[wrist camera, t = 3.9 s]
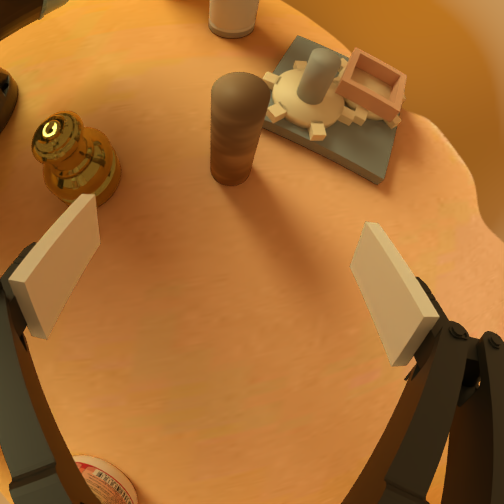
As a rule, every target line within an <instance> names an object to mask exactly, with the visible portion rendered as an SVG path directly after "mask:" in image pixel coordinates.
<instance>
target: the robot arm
mask: <svg viewBox="0 0 504 504" xmlns="http://www.w3.org/2000/svg"><path fill="white" fill-rule="evenodd" d="M67 2H68V0H0V41H1V40H3V39H5V38H6V37H8V36H9V35H11V34H13V33H14V32H16V31H18V30H19V29H21V28H23V27H25V26H26V25H28V24H30V23H32V22H34V21H36V20H37V19H38V20H40V19H41V18H43V17H44V15H46V14H48V13H50V12H51V11H53V10H55V9H57V8H59V7H61V6H63V5H64V4H66V3H67ZM17 95H18V88H17V84H16V82H15V81H14V79H13V78H12V76H11V75H10V74H9V73H8V72H7V71H6V70H4V69H2V68H0V132H1V131H2V129H3V128H4V126H5V125H6V123H7V121H8V120H9V118H10V116H11V114H12V112H13V109H14V107H15V104H16V100H17ZM100 244H101V241H100V234H99V226H98V217H97V208H96V197H95V194H81V195H80V196H79V197H78V198H77V199H76V200H75V201H74V202H73V203H72V204H71V205H70V206H69V208H68V209H67V210H66V211H65V212H64V213H63V214H62V215H61V216H60V217H59V218H58V219H57V221H56V222H55V223H54V224H53V225H52V226H51V227H50V228H49V230H48V231H47V232H46V233H45V234H44V235H43V236H42V238H41V239H40V240H39V241H38V242H37V243H35V242H33V243H32V244H30V245H29V246H27V247H26V248H24V250H23V251H22V252H21V253H20V254H19V256H18V258H16V259H15V261H14V262H13V264H11V266H10V267H9V268H8V269H7V271H6V272H5V273H4V274H3V276H2V277H1V278H0V445H1V448H2V451H3V454H4V457H5V460H6V463H7V465H8V468H9V470H10V473H11V476H12V482H11V483H10V484H9V491H10V494H11V497H12V499H13V502H14V504H102V503H101V501H100V500H99V499H98V498H97V497H96V495H95V494H94V493H93V492H92V490H91V489H90V487H89V486H88V484H87V483H86V481H85V479H84V477H83V476H82V474H81V472H80V470H79V468H78V467H77V465H76V463H75V461H74V459H73V457H72V455H71V453H70V451H69V449H68V447H67V445H66V443H65V441H64V439H63V437H62V435H61V433H60V431H59V429H58V426H57V424H56V422H55V420H54V417H53V415H52V413H51V410H50V408H49V405H48V403H47V400H46V398H45V395H44V393H43V390H42V387H41V385H40V382H39V379H38V376H37V373H36V370H35V367H34V364H33V361H32V358H31V355H30V351H29V348H28V345H27V341H26V338H25V336H24V334H23V331H24V330H25V328H26V326H27V327H28V329H29V331H30V333H31V335H32V336H34V337H38V338H43V339H48V337H49V335H50V333H51V331H52V329H53V327H54V325H55V323H56V321H57V319H58V317H59V315H60V313H61V312H62V310H63V308H64V306H65V304H66V302H67V300H68V298H69V297H70V295H71V293H72V291H73V289H74V288H75V286H76V284H77V282H78V280H79V279H80V277H81V275H82V274H83V272H84V270H85V268H86V267H87V265H88V263H89V262H90V260H91V258H92V257H93V255H94V253H95V252H96V250H97V249H98V247H99V245H100ZM350 268H351V271H352V273H353V275H354V277H355V280H356V282H357V284H358V286H359V289H360V291H361V293H362V295H363V298H364V300H365V302H366V305H367V307H368V309H369V312H370V314H371V317H372V319H373V321H374V324H375V326H376V329H377V331H378V334H379V336H380V339H381V341H382V344H383V346H384V349H385V351H386V354H387V357H388V359H389V362H390V364H391V367H392V366H405V365H407V364H408V363H409V361H410V360H411V359H412V357H413V356H414V357H415V359H416V362H417V363H416V365H415V366H414V367H413V369H412V370H411V371H410V373H409V374H408V375H407V376H406V378H405V379H404V380H407V379H408V378H409V379H408V381H407V383H406V386H405V388H404V390H403V393H402V395H401V397H400V399H399V402H398V404H397V406H396V408H395V410H394V412H393V414H392V417H391V419H390V421H389V423H388V425H387V427H386V429H385V431H384V433H383V435H382V436H381V438H380V440H379V442H378V444H377V446H376V448H375V449H374V451H373V453H372V455H371V457H370V458H369V460H368V462H367V464H366V465H365V467H364V469H363V470H362V472H361V474H360V475H359V477H358V479H357V480H356V482H355V484H354V485H353V487H352V488H351V490H350V491H349V493H348V494H347V496H346V497H345V499H344V500H343V502H342V503H341V504H430V503H429V502H427V501H426V494H427V492H428V489H429V487H430V484H431V482H432V480H433V477H434V474H435V472H436V469H437V467H438V464H439V461H440V458H441V456H442V453H443V450H444V447H445V444H446V441H447V437H448V434H449V445H448V457H447V466H446V474H445V481H444V488H443V494H442V500H441V504H504V342H503V340H502V339H501V337H500V336H498V335H497V334H495V333H493V332H490V331H487V332H485V333H484V334H483V336H482V337H481V338H480V339H476V338H472V337H469V334H468V332H467V331H466V330H465V328H464V327H463V326H461V325H460V324H459V323H456V322H454V321H449V320H448V318H447V317H446V315H445V313H444V312H443V310H442V308H441V307H440V305H439V304H438V302H437V301H436V299H435V297H434V296H433V294H431V293H432V292H431V291H430V289H429V288H428V286H427V285H426V284H425V283H424V282H423V281H422V280H421V279H420V278H419V277H415V276H414V274H413V273H412V271H411V270H410V268H409V266H408V265H407V263H406V262H405V260H404V259H403V258H402V256H401V255H400V253H399V252H398V250H397V249H396V247H395V246H394V244H393V243H392V241H391V240H390V239H389V237H388V236H387V234H386V233H385V232H384V230H383V229H382V227H381V226H380V225H379V223H373V222H366V221H365V224H364V227H363V230H362V233H361V236H360V239H359V241H358V244H357V247H356V250H355V253H354V256H353V258H352V261H351V264H350ZM480 381H481V382H480ZM479 382H480V386H479Z"/></svg>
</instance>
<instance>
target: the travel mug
mask: <svg viewBox="0 0 504 504" xmlns="http://www.w3.org/2000/svg"><path fill="white" fill-rule="evenodd" d="M258 3H259V0H210V6H209V28H210V30H211V31H212V32H213V33H215V34H216V35H218V36H221V37H225V38H240V37H244V36H246V35H248V34H250V33H251V32H252V31H253V29H254V25H255V20H256V14H257V9H258Z"/></svg>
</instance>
